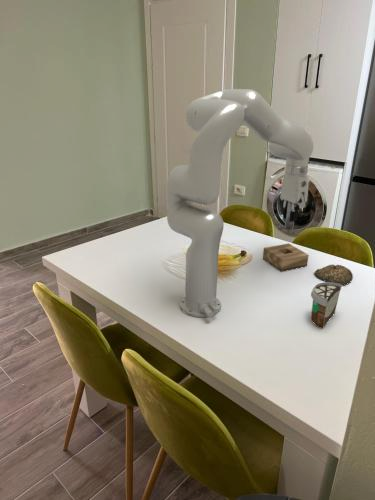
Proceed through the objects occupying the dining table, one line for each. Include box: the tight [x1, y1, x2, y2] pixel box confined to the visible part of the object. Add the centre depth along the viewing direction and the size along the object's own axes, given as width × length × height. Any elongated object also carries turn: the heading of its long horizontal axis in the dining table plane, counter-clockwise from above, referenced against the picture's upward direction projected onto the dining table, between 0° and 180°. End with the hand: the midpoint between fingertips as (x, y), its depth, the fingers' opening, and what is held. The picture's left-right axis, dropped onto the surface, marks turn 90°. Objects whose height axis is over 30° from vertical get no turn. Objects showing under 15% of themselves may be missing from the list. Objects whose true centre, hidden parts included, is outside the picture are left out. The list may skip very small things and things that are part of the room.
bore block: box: [262, 243, 309, 273], centre depth 145 cm, size 12×12×5 cm
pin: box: [284, 201, 297, 231], centre depth 138 cm, size 3×3×11 cm
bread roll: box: [313, 264, 354, 286], centre depth 135 cm, size 13×12×5 cm
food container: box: [310, 281, 342, 329], centre depth 109 cm, size 12×6×10 cm, turn 141°
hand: (289, 219), depth 138 cm, fingers closed on pin, 3 cm apart
